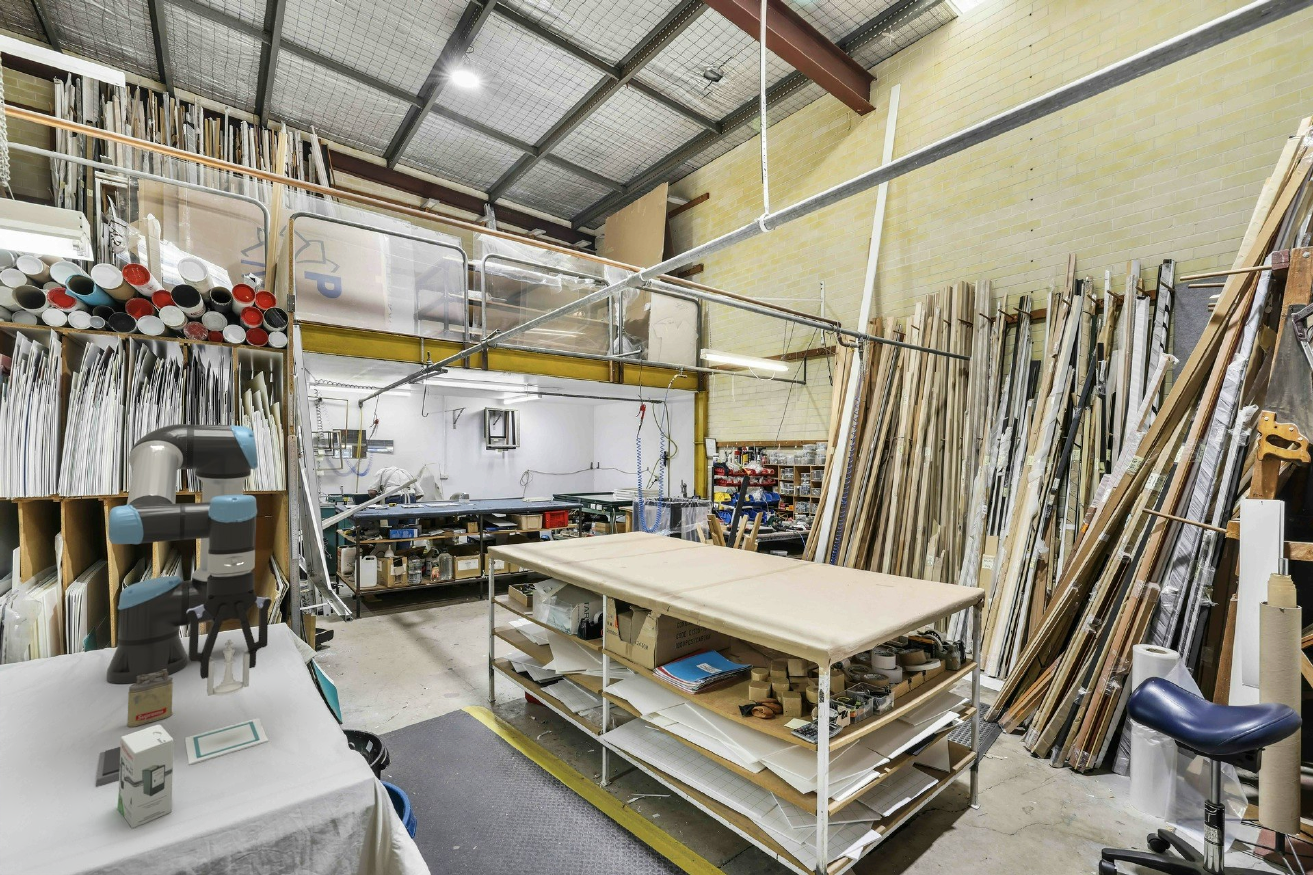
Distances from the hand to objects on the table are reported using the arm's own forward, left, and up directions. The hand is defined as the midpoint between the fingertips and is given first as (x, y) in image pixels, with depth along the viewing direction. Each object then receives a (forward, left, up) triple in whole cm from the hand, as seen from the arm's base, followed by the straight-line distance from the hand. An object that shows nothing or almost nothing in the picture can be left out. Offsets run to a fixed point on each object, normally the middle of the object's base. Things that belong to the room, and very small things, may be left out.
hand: (228, 688), depth 108 cm
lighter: (-21, -11, -11) cm, 26 cm away
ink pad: (-2, -14, -10) cm, 18 cm away
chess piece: (0, 0, -1) cm, 1 cm away
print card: (0, 0, -10) cm, 10 cm away
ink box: (+17, -12, -11) cm, 23 cm away
